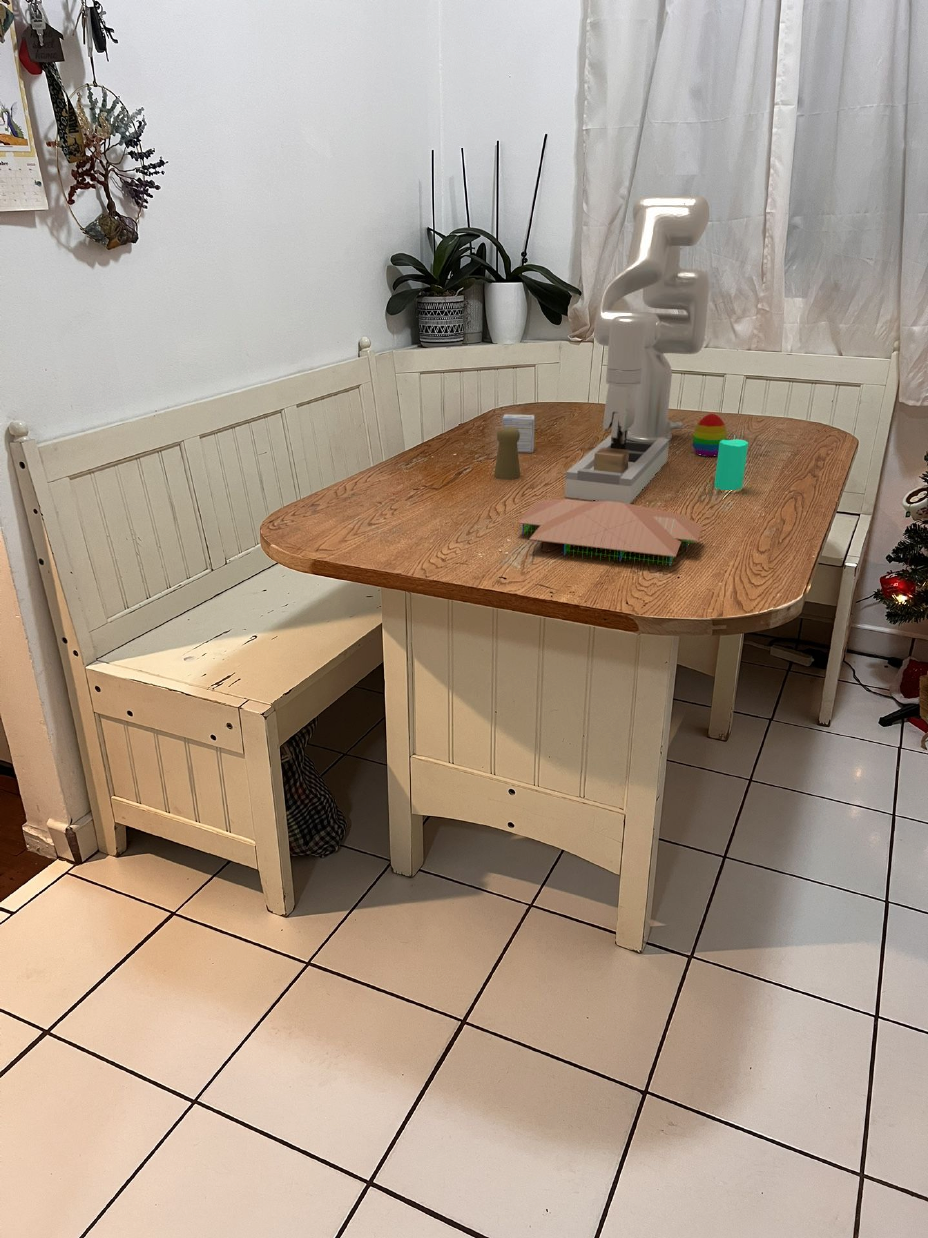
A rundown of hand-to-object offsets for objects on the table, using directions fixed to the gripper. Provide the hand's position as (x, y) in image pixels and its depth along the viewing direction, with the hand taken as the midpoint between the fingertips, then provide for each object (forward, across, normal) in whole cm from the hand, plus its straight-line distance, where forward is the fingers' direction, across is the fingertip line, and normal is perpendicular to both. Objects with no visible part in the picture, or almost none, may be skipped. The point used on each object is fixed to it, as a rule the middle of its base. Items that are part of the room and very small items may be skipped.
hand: (617, 460), depth 206 cm
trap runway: (+5, -3, 0) cm, 6 cm away
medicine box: (+5, -17, -30) cm, 35 cm away
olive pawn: (+5, +6, -24) cm, 25 cm away
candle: (+5, -4, +24) cm, 25 cm away
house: (+6, +39, +8) cm, 41 cm away
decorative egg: (+5, -33, +15) cm, 37 cm away
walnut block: (+1, +5, 0) cm, 5 cm away
